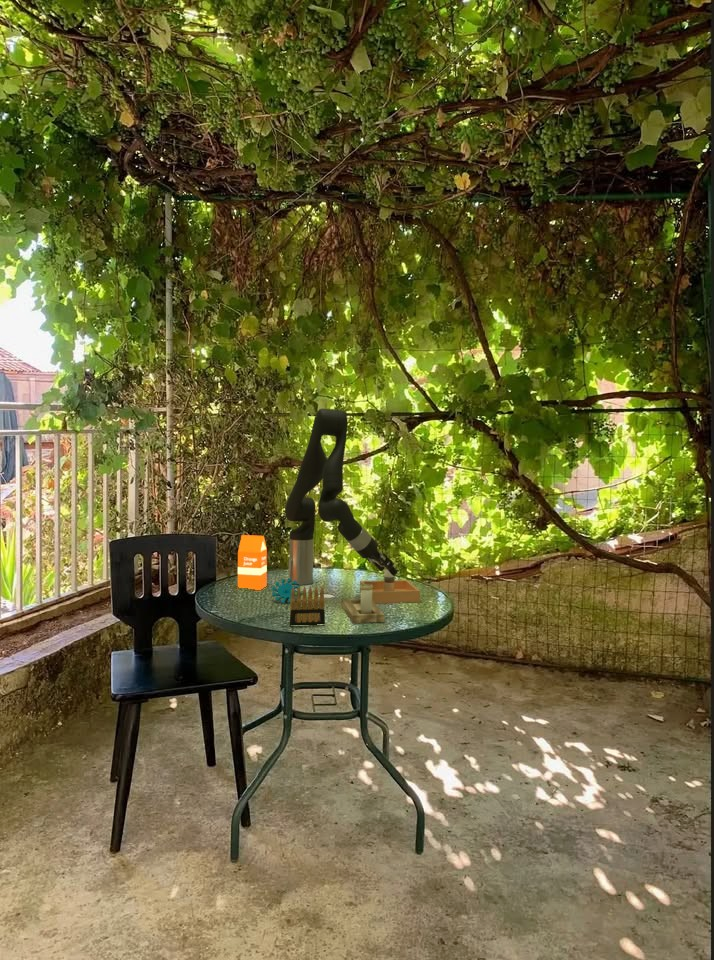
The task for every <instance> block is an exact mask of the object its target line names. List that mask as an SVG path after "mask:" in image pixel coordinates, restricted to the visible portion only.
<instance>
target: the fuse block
mask: <svg viewBox="0 0 714 960" xmlns="http://www.w3.org/2000/svg"><path fill="white" fill-rule="evenodd" d="M342 607H343V608H342ZM341 608H342V609H343V611H344V610H345V611H344V612H345V614H346V613H347V614H346V615H348V616H349V617H348V616H347V617H348V619H349V618H350V619H349V620H350V622H351V621H352V622H351V623H352V624H353V623H355V624H364V623H363V622H366V623H365V624H368V623H367V622H384V623H385V613H384V612H383V611H382V610H381V608H380V607H379V606H378V605H377V604H375V603H374V601H373V600H372V614H360V610H361V598H352V599H351V598H347V599H346V598H344V599H341Z"/></svg>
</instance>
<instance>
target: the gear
mask: <svg viewBox="0 0 714 960" xmlns="http://www.w3.org/2000/svg"><path fill="white" fill-rule="evenodd" d="M280 580H281V584H280V581H276V582H274V583H275V585H274V586H273V587H272V588H271V591H272V593H271V594H272V597H274V598H275V601H276V602H279V601H280V603H281V604H282V603H284V604H285V603H286V601H287V604H290V600H291V591H292V588H293V587H294V590H295V600H296V599H297V590H298V587H300V588H301V585H297V581H296V580H295V581H294V582H293V583H289V582H291V581H292V579H290V578H289V577H288V579H287V581H286V579H285V578H281V579H280ZM276 586H277V587H278V588H276ZM300 591H301V597H302V596H303V590H300ZM276 592H277V593H276Z"/></svg>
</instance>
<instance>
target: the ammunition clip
mask: <svg viewBox="0 0 714 960" xmlns="http://www.w3.org/2000/svg"><path fill="white" fill-rule="evenodd" d="M295 590H296V591H297V599H296V600H295ZM295 590H294V587H293V588H292V591H291V600H290V603H289V605H290V606H289V611H290V612H289V624H290V625H317V624H325V625H326V616H325V614H326V613H325V612H326V611H325V609H326V608H325V604H326V603H325V601H326V600H325V591H324V590H325V589H324V587H323V585H322V586H321V587H320V589H318V587H317V586H315V588H314V591H313V588H312V586H309V588H308V594H307V588H306V586H303V589H302V590H301V586H300V587H298V589H295ZM301 591H303V595H302V596H301ZM319 591H320V592H319ZM313 592H314V593H313ZM307 595H308V596H307ZM290 625H289V626H290Z"/></svg>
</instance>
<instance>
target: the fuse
mask: <svg viewBox="0 0 714 960" xmlns="http://www.w3.org/2000/svg"><path fill="white" fill-rule="evenodd" d="M360 589H361V593H360V599H361V610H360V614H372V589H373V585H372V584H361V585H360V584H359V590H360Z"/></svg>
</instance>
